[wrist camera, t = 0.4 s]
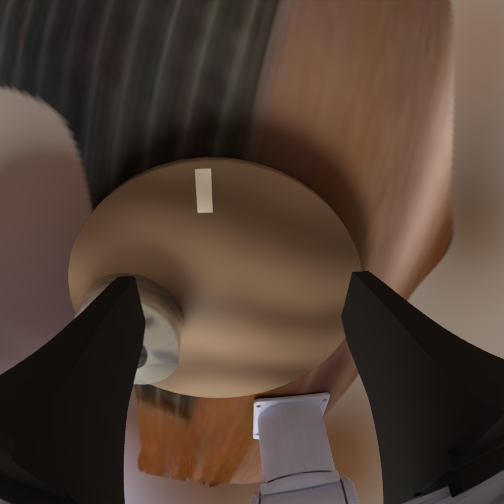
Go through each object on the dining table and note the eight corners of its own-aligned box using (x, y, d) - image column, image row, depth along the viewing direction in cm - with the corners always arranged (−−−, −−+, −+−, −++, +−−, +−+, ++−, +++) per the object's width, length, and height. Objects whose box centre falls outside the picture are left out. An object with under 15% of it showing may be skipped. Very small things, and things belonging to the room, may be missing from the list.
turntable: (330, 379, 27) (333, 390, 26) (116, 384, 26) (113, 394, 25) (381, 160, 17) (390, 166, 16) (43, 172, 16) (33, 180, 15)
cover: (189, 350, 22) (186, 388, 19) (101, 347, 22) (90, 382, 19) (176, 272, 19) (167, 310, 16) (73, 273, 18) (52, 307, 15)
